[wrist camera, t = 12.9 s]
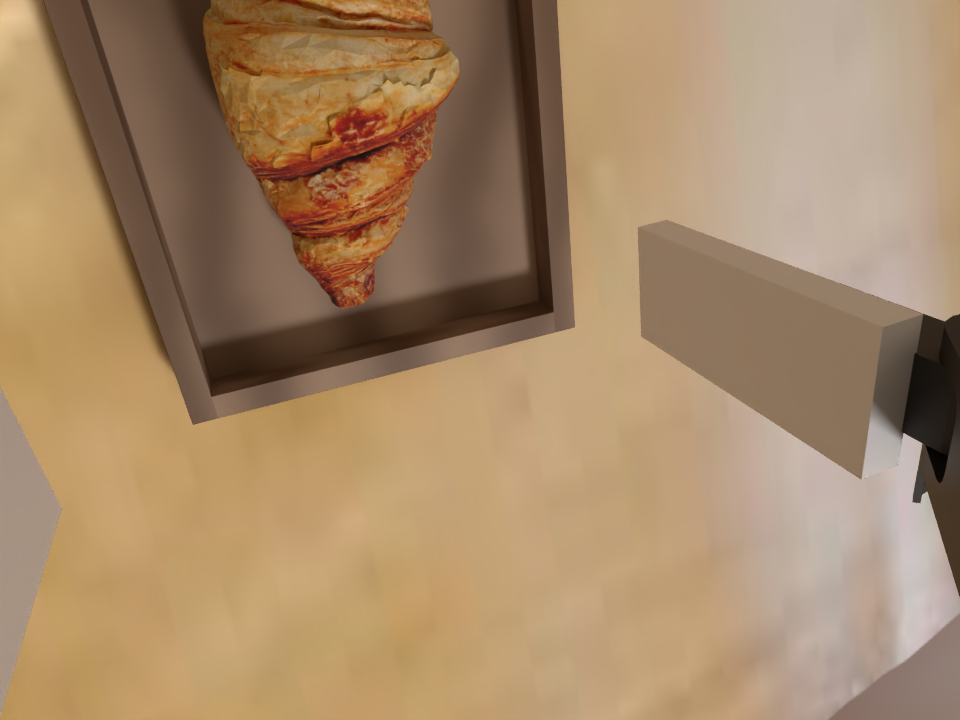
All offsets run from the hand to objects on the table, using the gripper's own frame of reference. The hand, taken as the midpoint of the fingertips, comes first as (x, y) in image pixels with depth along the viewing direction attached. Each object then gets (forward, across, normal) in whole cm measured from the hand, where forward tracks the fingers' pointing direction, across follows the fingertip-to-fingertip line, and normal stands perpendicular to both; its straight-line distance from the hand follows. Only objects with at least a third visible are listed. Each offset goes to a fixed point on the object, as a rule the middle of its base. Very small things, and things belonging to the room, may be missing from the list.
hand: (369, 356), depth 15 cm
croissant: (+21, +4, +5) cm, 22 cm away
